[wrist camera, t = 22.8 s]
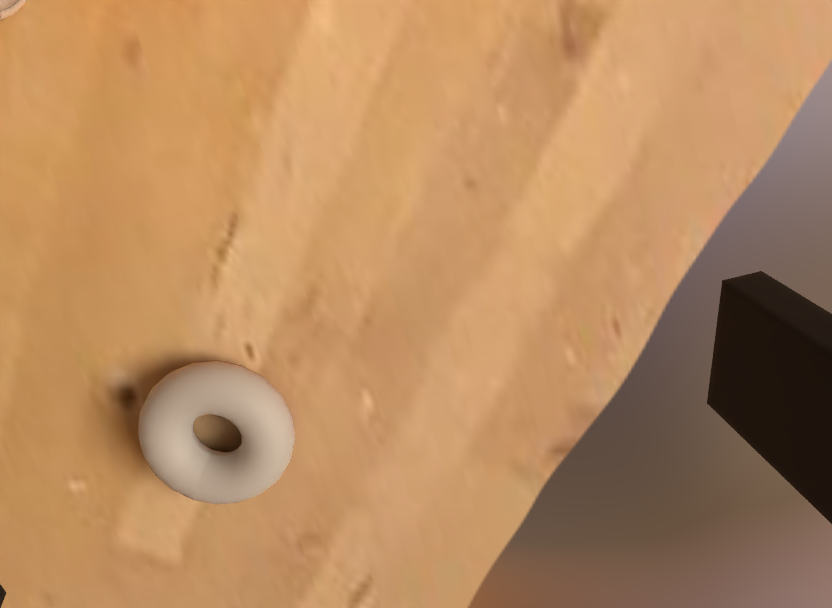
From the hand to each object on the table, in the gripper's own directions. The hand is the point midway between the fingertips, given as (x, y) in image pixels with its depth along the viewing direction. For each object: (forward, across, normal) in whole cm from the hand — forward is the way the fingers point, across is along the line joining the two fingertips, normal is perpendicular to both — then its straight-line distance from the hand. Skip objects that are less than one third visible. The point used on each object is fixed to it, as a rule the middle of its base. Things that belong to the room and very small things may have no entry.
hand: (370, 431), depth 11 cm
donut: (+28, -8, -19) cm, 35 cm away
